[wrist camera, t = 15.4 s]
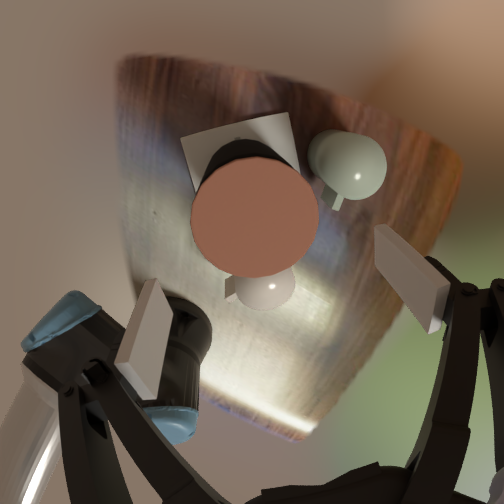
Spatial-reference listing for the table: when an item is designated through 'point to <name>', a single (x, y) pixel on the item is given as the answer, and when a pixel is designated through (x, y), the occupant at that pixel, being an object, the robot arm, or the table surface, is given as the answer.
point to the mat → (260, 129)
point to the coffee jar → (253, 211)
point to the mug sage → (346, 165)
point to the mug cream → (261, 290)
